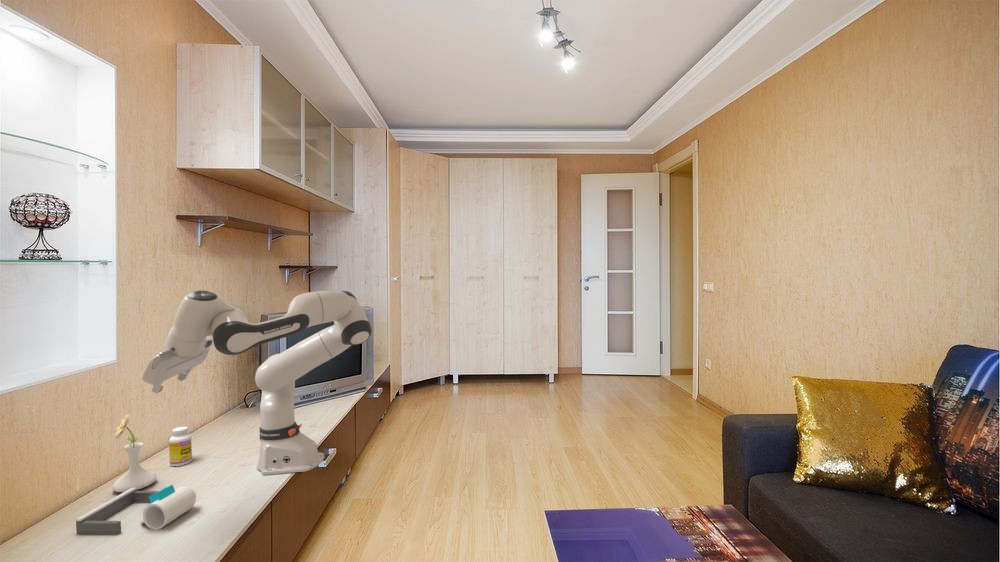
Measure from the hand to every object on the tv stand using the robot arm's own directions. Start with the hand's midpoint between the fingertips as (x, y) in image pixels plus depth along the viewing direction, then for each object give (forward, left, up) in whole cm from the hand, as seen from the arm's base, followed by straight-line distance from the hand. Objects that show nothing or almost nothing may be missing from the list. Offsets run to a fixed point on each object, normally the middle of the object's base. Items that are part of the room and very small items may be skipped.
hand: (169, 385), depth 129 cm
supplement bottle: (+23, -32, -37) cm, 55 cm away
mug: (0, +3, -38) cm, 38 cm away
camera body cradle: (+12, +3, -37) cm, 39 cm away
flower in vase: (+24, -14, -37) cm, 47 cm away
